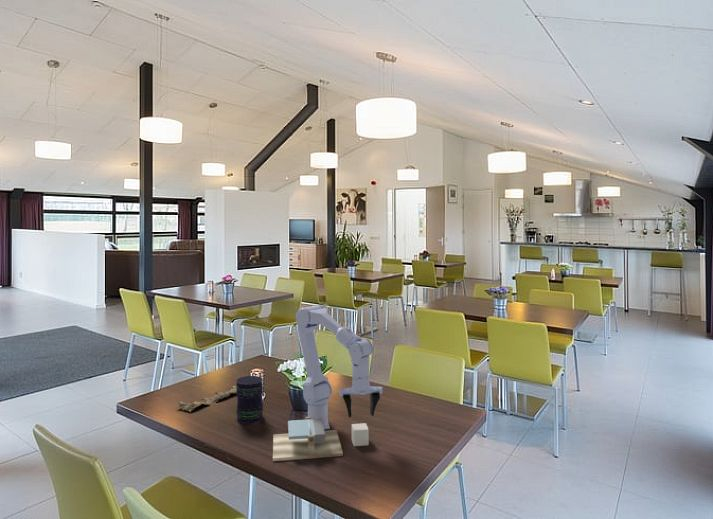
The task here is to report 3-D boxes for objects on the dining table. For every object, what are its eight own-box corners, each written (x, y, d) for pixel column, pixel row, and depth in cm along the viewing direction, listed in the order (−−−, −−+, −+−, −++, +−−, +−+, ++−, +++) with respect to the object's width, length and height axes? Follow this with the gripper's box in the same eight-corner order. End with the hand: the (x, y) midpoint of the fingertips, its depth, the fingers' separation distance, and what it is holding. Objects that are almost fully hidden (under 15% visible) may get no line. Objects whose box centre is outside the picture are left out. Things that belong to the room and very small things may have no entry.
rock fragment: (237, 387, 216) (237, 380, 216) (253, 391, 211) (254, 384, 211) (175, 409, 187) (175, 402, 187) (192, 414, 182) (192, 407, 181)
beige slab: (273, 437, 161) (273, 418, 161) (336, 432, 165) (336, 414, 165) (272, 461, 145) (272, 440, 144) (342, 455, 148) (342, 435, 148)
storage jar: (234, 416, 180) (233, 378, 179) (259, 411, 184) (258, 374, 183) (240, 425, 171) (239, 385, 170) (266, 420, 175) (265, 381, 175)
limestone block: (351, 439, 160) (351, 424, 160) (365, 438, 161) (365, 423, 160) (353, 446, 155) (353, 430, 155) (368, 445, 156) (368, 429, 155)
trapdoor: (288, 429, 160) (287, 420, 160) (321, 427, 162) (321, 418, 161) (288, 445, 148) (288, 436, 147) (325, 443, 149) (324, 433, 149)
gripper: (341, 380, 151) (341, 421, 152) (384, 378, 154) (384, 418, 154) (338, 374, 158) (338, 413, 159) (379, 371, 160) (379, 410, 161)
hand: (360, 415), depth 157 cm, fingers open, 7 cm apart
